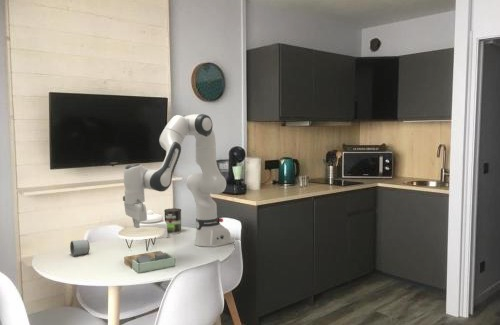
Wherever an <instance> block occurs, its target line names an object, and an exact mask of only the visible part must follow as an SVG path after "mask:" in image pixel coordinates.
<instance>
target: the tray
mask: <svg viewBox="0 0 500 325" xmlns="http://www.w3.org/2000/svg"><path fill="white" fill-rule="evenodd" d="M167 254H168V259H163V260H157V261H155V258H150V261H151V262H146V263H141V264H139V263H137V262H136V261H135V260H132V268H131V269H133V271H135V272H136V273H137V274H142V273H147V272H152V271H157V270H162V269H168V268H169V269H170V268H174V267H176V258H175V256H173V255H171V254H169V253H167Z"/></svg>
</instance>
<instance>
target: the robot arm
mask: <svg viewBox="0 0 500 325" xmlns="http://www.w3.org/2000/svg"><path fill="white" fill-rule="evenodd" d="M213 125H214V124H213V121H212V118H211V117H210V116H209V115H208V114H203V113H202V114H197V113H193V114H188V115H180V114H177V115H174V116H173V117H172V118H171V119H170V120H169V121H168V122H167V124H166V125H165V126H164V129H163V130H162V132H161V134H160V135H159V139H158V141H159V145H160V146H161V148H162V149H163V150H164V151H166V155H165V157H164V160H163V162H162V164H161V166H160V167H159V168H158V169H152V168H149V167H148V168H147V167H145V166H143V165H142V164H141V163H139V162H138V163H131V164H128V165H126V166H125V168H124V171H123V184H124V196H122V201H123V206H124V212H125V215H126V216H128V217H130V218H131V219H132V224H133V227H134V229H135V228H139V227H140V225H139V224H140V221H146V220H147V208H146V204H144V202H146V199H145V190H152V191H156V192H160V193H161V192H165V191H167V190H168V189H169V188H170V186H171V184H172V181H173V180H172V179H173V174H174V171H175V169H176V166H177V164H178V162H179V159H180V155H181V153H182V144H183V141H184V139H185V138H186V136H194V137H195V163H196V164H197V166H199V168H200V170H201V172H195V173H191V174H189V175H188V176H187V179H186V184H185V185H186V187H187V188H188V190H189V191H190V192H191V195H192V196H193V198H194V201H195V207H196V209H195V210H196V218H195V225H196V226H195V228H196V231H195V232H196V234H195V240H194V246H197V247H211V248H212V247H213V248H216V247H217V248H218V247H220V246H224V245H228V244H229V245H230V244H232V243H235V238H233V237H231V232H230V230H229V229H228V228H226V227H225V226H223V225H222V224H221V223H223V222H224V219H223V218H219V217H218V214H217V213H218V209H217V208H218V207H217V202H216V201H215V200H214V199H213V198H212V195H217V194H222V193H223V192H225V190H226V187H227V180H226V178H225V177H224V176H223V174H222V173H221V171H220V170H219V167H218V162H217V142H216V135H215V132H214V130H213Z"/></svg>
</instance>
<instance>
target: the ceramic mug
mask: <svg viewBox="0 0 500 325" xmlns="http://www.w3.org/2000/svg"><path fill="white" fill-rule="evenodd" d="M69 244H70V245H69V248H70V250H69V252H70V255H71V257H77V256H81V255H87V254H89V252H90V250H91V248H90V247H91V246H90V241H89V240H88V239H79V240H78V239H77V240H71V241H70V243H69Z"/></svg>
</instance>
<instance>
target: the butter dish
mask: <svg viewBox="0 0 500 325" xmlns="http://www.w3.org/2000/svg"><path fill="white" fill-rule="evenodd" d="M146 213H147V220H146V221H140V224H139V225H140V227H158V228H164V229H165V233H164V234H163V235H162V236H160V237H158V238H156V239H155V240H157V239H168V234H167V224H166V222H165V218H164V216H163V215H162V214H160V213H155V212H154V211H153V209H148V210H146ZM140 227H139V228H140Z"/></svg>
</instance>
